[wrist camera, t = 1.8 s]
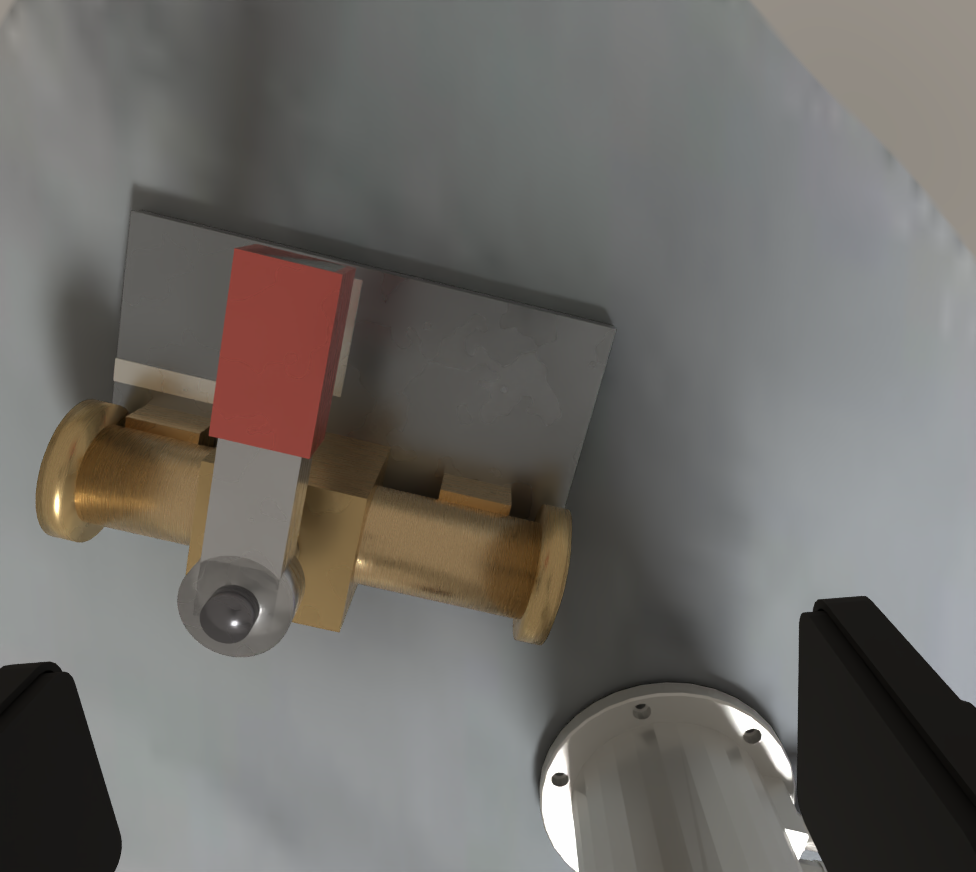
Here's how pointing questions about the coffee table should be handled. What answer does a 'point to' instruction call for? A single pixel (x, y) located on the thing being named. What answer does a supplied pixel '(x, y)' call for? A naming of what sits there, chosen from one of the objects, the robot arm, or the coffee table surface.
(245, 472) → the lever
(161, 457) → the valve
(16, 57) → the coffee table surface
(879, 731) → the robot arm
